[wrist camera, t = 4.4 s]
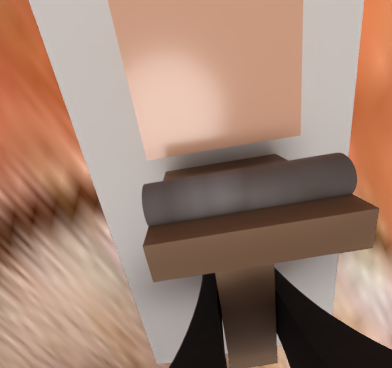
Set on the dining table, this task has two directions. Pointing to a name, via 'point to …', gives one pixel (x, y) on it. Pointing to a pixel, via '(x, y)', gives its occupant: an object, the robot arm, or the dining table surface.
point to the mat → (155, 169)
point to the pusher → (252, 233)
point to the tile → (211, 71)
